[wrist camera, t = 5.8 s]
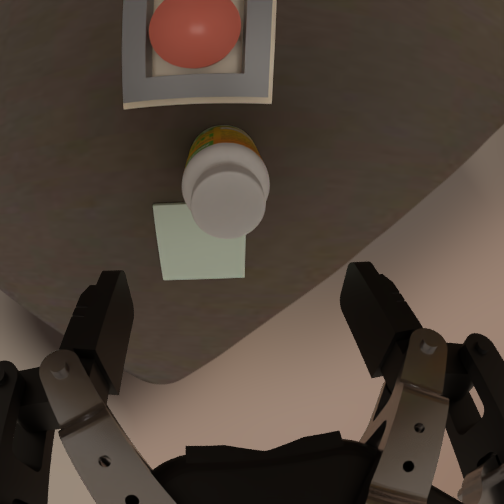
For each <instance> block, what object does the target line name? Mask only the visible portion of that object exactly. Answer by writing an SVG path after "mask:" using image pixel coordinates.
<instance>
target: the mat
mask: <svg viewBox="0 0 504 504" xmlns="http://www.w3.org/2000/svg"><path fill="white" fill-rule="evenodd" d="M153 212H154V220H155V228H156V235H157V242H158V249H159V256H160V262H161V269H162V275H163V280H187V279H218V278H244V277H245V242H246V235H244V236H241V237H238V238H233V239H221V238H217V237H213V236H211V235H209V234H207V233H205V232H204V231H203V230H202V229H200V228H199V226H198V225H197V224H196V222H195V221H194V219H193V216H192V213H191V211H190V210H189V208H188V206H187V205H186V203H185V202H179V203H158V204H153Z"/></svg>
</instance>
